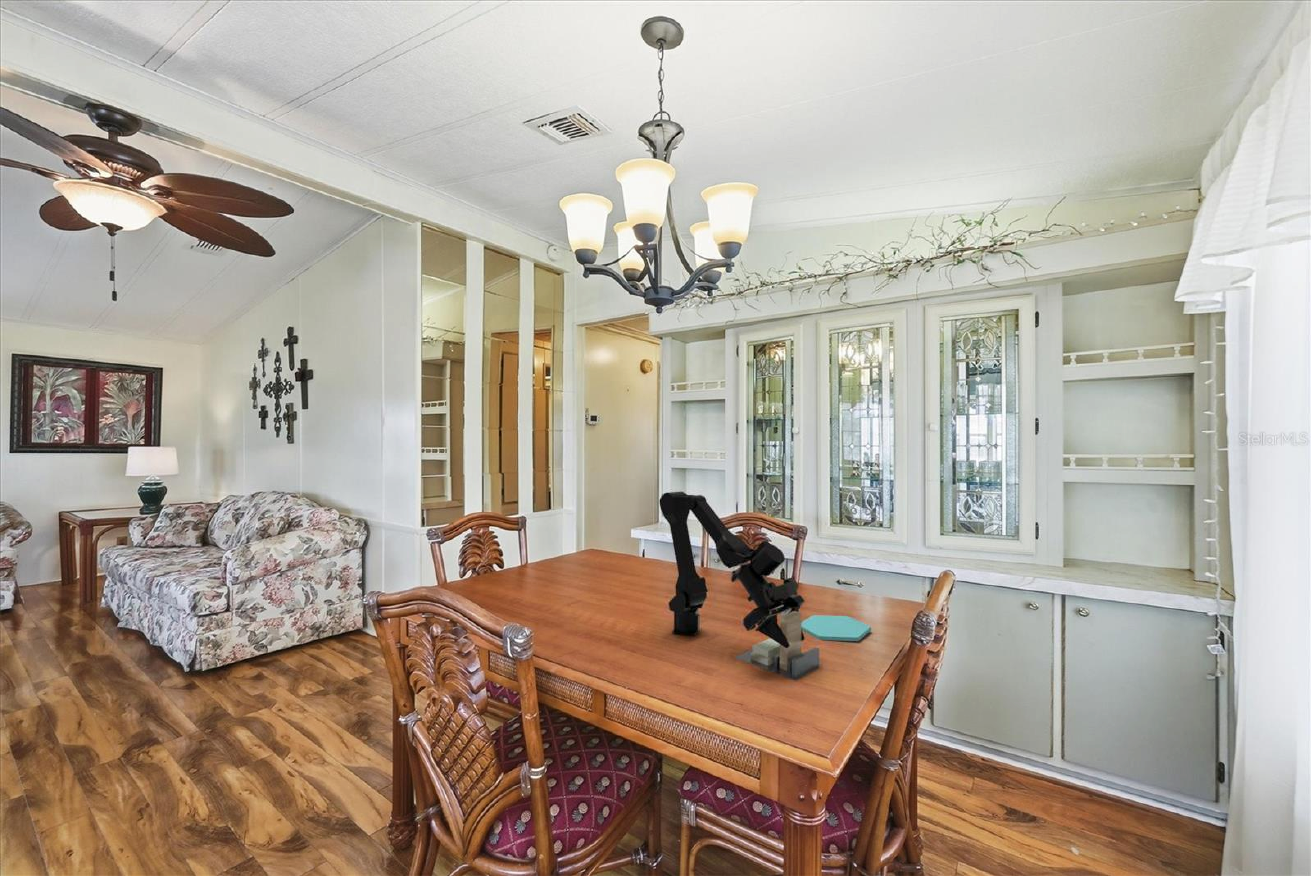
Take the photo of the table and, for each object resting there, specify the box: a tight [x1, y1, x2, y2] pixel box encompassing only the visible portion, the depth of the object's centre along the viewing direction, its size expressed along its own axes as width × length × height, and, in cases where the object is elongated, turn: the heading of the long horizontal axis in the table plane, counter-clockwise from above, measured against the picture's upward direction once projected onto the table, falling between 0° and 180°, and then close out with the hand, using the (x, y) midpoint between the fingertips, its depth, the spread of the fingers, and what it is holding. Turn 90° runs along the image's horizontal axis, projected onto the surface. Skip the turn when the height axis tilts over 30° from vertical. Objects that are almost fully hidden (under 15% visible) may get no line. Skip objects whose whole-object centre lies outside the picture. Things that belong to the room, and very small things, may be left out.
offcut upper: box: [752, 637, 780, 657], centre depth 131 cm, size 4×7×2 cm, turn 133°
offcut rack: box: [734, 647, 824, 681], centre depth 129 cm, size 17×12×5 cm
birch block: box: [779, 611, 803, 671], centre depth 126 cm, size 2×6×12 cm, turn 133°
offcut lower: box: [751, 652, 780, 666], centre depth 131 cm, size 5×8×2 cm, turn 133°
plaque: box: [801, 614, 872, 642], centre depth 153 cm, size 18×2×20 cm
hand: (795, 643), depth 125 cm, fingers closed on birch block, 6 cm apart
